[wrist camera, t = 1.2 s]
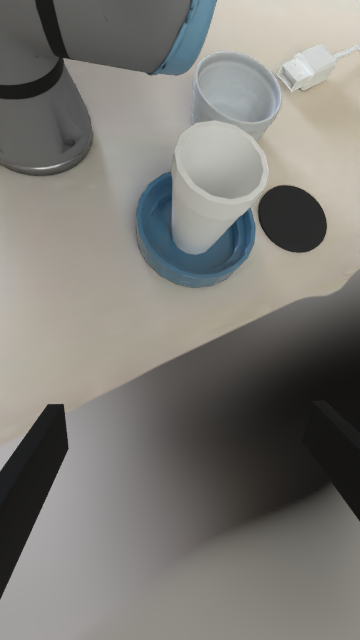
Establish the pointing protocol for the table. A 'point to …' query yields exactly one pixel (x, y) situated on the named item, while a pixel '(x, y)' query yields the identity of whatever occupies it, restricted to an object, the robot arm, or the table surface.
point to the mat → (292, 219)
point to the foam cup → (213, 182)
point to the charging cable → (311, 67)
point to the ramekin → (236, 92)
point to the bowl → (177, 263)
